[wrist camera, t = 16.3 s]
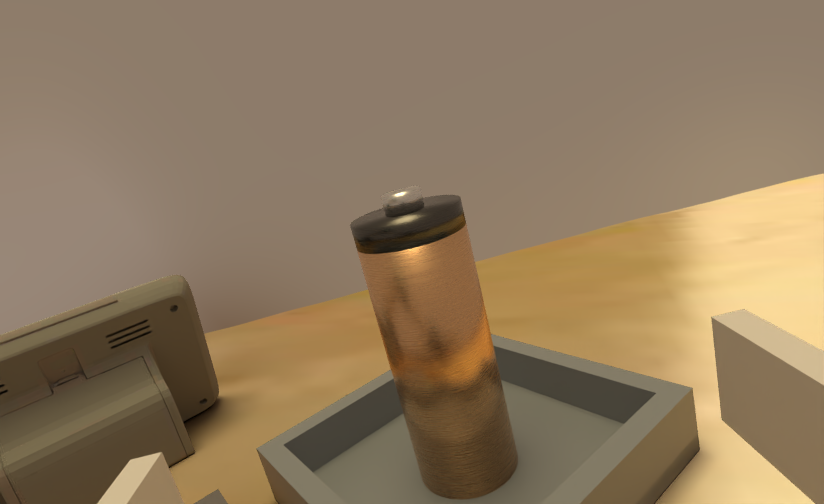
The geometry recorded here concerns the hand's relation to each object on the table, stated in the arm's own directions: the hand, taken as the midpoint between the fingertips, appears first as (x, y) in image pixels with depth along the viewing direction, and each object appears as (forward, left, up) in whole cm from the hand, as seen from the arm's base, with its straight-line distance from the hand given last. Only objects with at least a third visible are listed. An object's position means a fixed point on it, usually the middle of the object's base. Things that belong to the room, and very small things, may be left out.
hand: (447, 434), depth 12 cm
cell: (-8, +6, -8) cm, 13 cm away
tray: (-8, +6, -9) cm, 13 cm away
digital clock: (-28, -7, -9) cm, 30 cm away
